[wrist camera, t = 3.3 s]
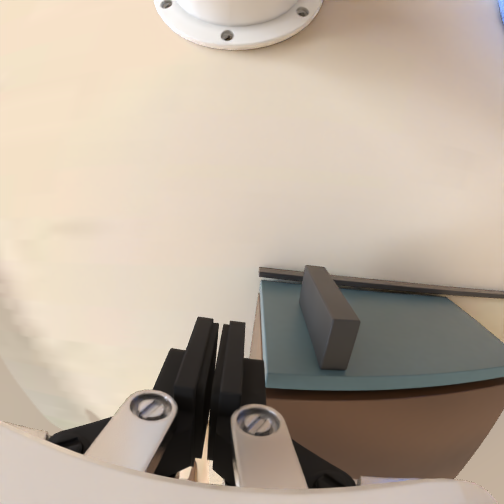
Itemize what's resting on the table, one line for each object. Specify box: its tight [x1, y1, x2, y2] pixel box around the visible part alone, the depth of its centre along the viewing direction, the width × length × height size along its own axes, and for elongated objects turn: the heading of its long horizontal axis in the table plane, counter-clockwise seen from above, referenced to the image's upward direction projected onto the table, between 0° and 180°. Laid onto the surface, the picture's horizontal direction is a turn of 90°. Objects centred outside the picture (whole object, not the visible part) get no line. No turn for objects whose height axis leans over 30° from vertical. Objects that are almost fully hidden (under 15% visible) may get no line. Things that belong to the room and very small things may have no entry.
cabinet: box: [249, 267, 504, 479], centre depth 19 cm, size 12×28×12 cm, turn 83°
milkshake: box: [179, 425, 209, 484], centre depth 22 cm, size 5×5×10 cm
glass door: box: [260, 265, 504, 391], centre depth 17 cm, size 3×16×11 cm, turn 83°
